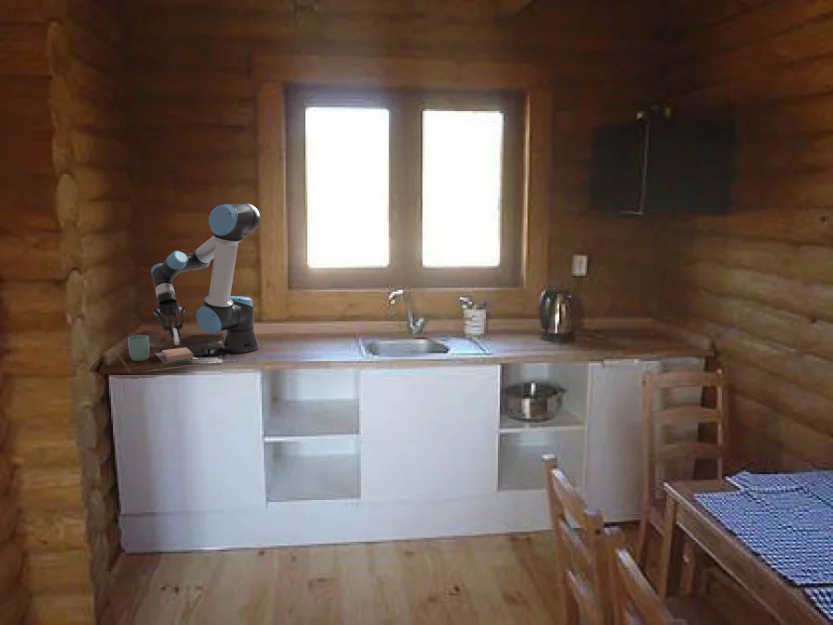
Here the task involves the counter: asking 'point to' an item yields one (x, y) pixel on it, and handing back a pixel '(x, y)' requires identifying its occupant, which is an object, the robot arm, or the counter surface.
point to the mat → (166, 360)
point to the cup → (138, 347)
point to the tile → (177, 354)
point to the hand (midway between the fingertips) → (177, 343)
